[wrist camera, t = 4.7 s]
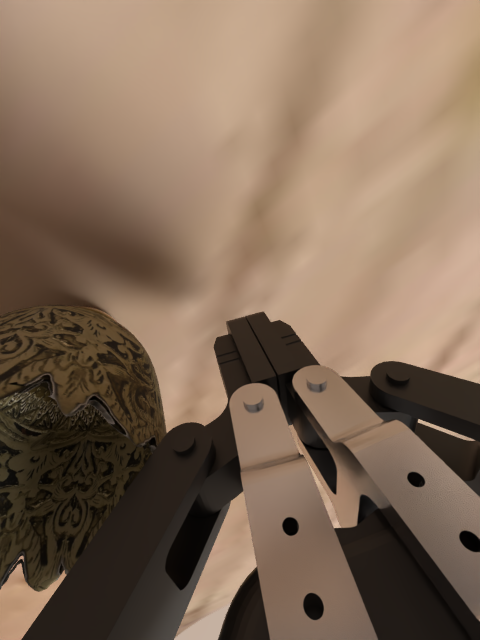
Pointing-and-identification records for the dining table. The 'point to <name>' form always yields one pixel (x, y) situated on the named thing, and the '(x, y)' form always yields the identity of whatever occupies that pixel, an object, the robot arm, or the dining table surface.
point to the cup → (68, 432)
